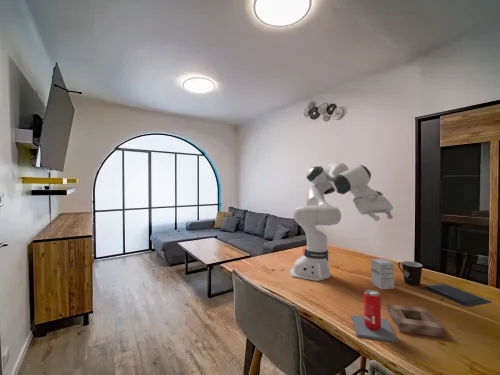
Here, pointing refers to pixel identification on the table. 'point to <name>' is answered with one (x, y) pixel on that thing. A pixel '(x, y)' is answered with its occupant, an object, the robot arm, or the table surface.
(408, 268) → the coffee mug
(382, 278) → the supplement box
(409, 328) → the can holder
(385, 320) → the coaster tile
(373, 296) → the beverage can
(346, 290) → the table surface
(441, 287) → the wallet
